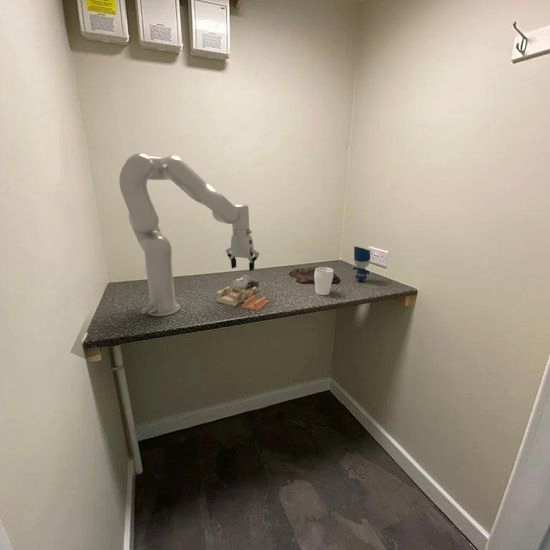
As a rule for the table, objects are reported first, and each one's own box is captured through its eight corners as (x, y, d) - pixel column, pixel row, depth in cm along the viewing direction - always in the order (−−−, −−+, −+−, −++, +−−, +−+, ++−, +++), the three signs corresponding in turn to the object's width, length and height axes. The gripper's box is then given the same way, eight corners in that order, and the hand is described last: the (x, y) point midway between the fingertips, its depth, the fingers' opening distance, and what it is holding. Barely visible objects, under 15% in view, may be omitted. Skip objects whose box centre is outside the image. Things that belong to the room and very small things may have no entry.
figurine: (374, 283, 154) (378, 247, 148) (362, 286, 149) (367, 249, 143) (355, 277, 164) (359, 243, 158) (344, 279, 159) (347, 244, 153)
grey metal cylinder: (242, 292, 131) (239, 280, 130) (231, 292, 134) (229, 280, 133) (253, 286, 140) (251, 274, 138) (243, 286, 142) (241, 274, 141)
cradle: (257, 311, 118) (257, 304, 118) (241, 307, 122) (241, 301, 121) (268, 302, 127) (268, 296, 126) (253, 299, 130) (253, 293, 129)
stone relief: (325, 262, 179) (349, 277, 151) (325, 269, 180) (348, 284, 152) (285, 265, 172) (302, 280, 145) (285, 272, 174) (302, 288, 146)
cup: (316, 296, 135) (317, 272, 131) (311, 290, 143) (312, 267, 139) (334, 295, 136) (336, 271, 132) (328, 289, 144) (329, 266, 141)
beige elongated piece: (235, 306, 123) (235, 295, 121) (216, 301, 127) (216, 291, 126) (258, 290, 141) (258, 281, 140) (241, 287, 145) (241, 278, 144)
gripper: (262, 232, 127) (262, 268, 133) (229, 230, 135) (231, 264, 140) (253, 235, 121) (254, 273, 126) (220, 232, 128) (222, 268, 133)
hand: (242, 268), depth 133 cm, fingers open, 9 cm apart
